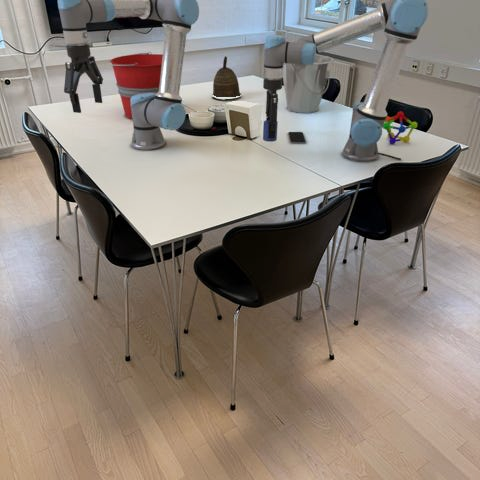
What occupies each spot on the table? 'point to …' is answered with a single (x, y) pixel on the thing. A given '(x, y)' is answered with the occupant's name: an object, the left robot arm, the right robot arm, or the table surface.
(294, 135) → the smartphone
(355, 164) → the table surface
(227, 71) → the bell
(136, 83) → the bucket
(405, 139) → the educational toy
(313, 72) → the bucket
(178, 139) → the table surface
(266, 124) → the can
